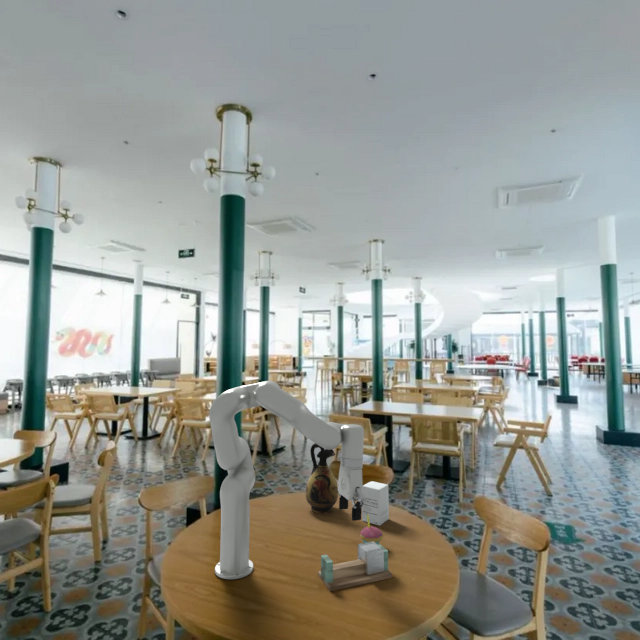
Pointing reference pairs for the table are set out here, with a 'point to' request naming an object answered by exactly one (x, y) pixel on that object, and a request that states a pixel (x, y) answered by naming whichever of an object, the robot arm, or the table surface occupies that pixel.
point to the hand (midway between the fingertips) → (349, 514)
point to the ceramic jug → (321, 483)
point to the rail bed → (355, 580)
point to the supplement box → (375, 503)
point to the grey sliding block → (371, 557)
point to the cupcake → (371, 533)
